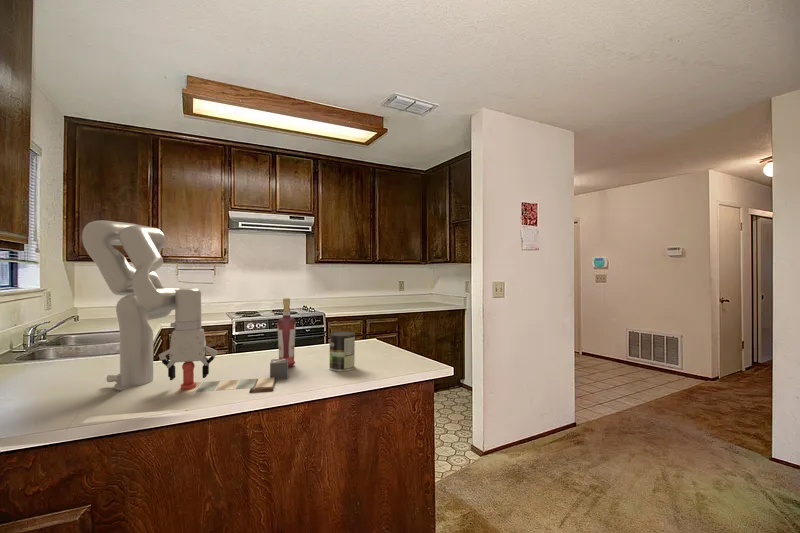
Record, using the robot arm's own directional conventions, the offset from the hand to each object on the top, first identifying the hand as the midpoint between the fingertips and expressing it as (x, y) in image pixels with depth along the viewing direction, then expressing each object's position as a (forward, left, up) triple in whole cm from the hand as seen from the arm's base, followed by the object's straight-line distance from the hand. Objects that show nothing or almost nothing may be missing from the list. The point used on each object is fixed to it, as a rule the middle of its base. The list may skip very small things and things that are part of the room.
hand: (188, 377), depth 126 cm
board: (+12, 0, -5) cm, 13 cm away
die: (+28, +10, -5) cm, 30 cm away
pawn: (0, 0, -3) cm, 3 cm away
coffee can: (+52, +17, -5) cm, 55 cm away
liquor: (+30, +25, -5) cm, 39 cm away
